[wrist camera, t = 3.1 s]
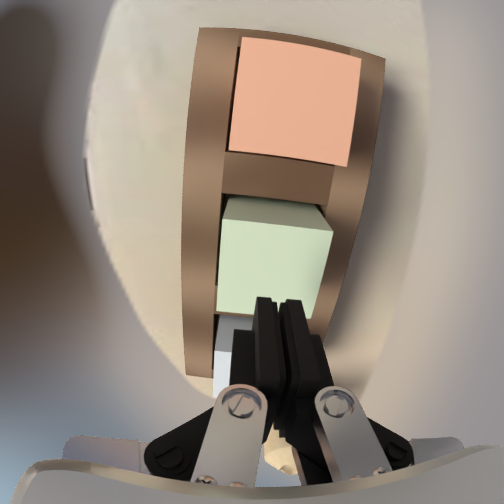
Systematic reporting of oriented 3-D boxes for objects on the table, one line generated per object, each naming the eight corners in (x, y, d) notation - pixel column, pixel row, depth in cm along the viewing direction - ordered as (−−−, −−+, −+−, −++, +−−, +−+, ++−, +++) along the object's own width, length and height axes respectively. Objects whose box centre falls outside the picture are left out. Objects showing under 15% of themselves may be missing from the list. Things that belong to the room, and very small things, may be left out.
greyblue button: (221, 305, 20) (214, 350, 16) (291, 311, 20) (299, 356, 16) (218, 353, 22) (212, 397, 18) (279, 358, 22) (283, 402, 18)
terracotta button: (245, 60, 13) (242, 36, 9) (333, 74, 13) (361, 58, 9) (235, 143, 15) (228, 150, 11) (322, 155, 15) (346, 166, 11)
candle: (303, 403, 29) (313, 478, 20) (257, 399, 29) (258, 478, 20) (321, 375, 27) (338, 458, 18) (270, 369, 26) (275, 459, 17)
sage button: (230, 193, 16) (222, 218, 12) (314, 203, 17) (333, 231, 12) (223, 268, 18) (216, 310, 14) (299, 276, 19) (310, 318, 15)
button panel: (210, 46, 14) (199, 27, 11) (360, 69, 15) (385, 58, 11) (193, 342, 25) (185, 374, 21) (300, 351, 25) (306, 383, 22)
